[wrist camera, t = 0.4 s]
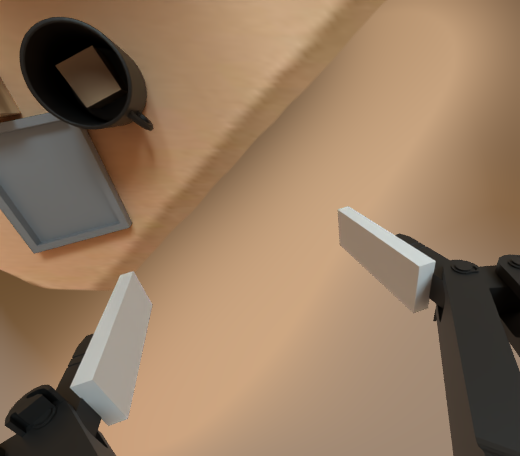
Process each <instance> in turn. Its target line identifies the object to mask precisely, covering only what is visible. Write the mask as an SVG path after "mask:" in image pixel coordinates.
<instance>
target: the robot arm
mask: <svg viewBox="0 0 520 456" xmlns="http://www.w3.org/2000/svg"><path fill="white" fill-rule="evenodd" d="M338 222H339V239H340V245H341V246H342V247H343V248H344V249H345V250H346V251H347V252H348V253H349V254H351V256H353V257H354V258H355V259H356V260H357V261H358V262H359V263H360V264H361V265H362V266H363V267H364V268H365V269H367V270H368V271H369V272H370V273H371V274H372V275H373V276H374V277H375V278H376V279H377V280H378V281H379V282H380V283H382V284H383V285H384V286H385V287H386V288H387V289H388V290H389V291H390V292H391V293H393V295H395V296H396V297H397V298H398V299H399V300H400V301H401V302H402V303H403V304H404V305H405V306H406V307H407V308H408V309H410V310H411V311H412V312H413V313H416V312H418V311H421V310H424V309H426V308H428V304H429V298H430V299H431V300H432V301H434V302H435V303H436V310H435V315H434V320H433V321H436V320H437V325H438V333H439V342H440V350H441V358H442V366H443V374H444V382H445V390H446V398H447V406H448V415H449V423H450V431H451V438H452V446H453V455H454V456H520V371H519V368H518V366H517V363H516V360H515V358H514V355H513V352H512V349H511V347H510V344H511V345H512V346H513V348H514V349H515V351H516V352H517V354H518V355H519V357H520V255H504V256H502V257H500V258H499V260H498V263H497V265H495V266H484V267H478V266H477V265H475V264H473V263H471V262H468V261H463V260H448V259H446V258H445V257H443V256H442V255H440V254H438V253H437V252H435V251H433V250H432V249H430V248H428V247H425V245H423V244H421V243H418V241H416V240H415V239H412V238H411V237H409V236H406V235H402V234H397V235H393V234H392V233H390V232H388V231H387V230H385V229H384V228H382V227H380V226H379V225H377V224H376V223H374V222H373V221H371V220H370V219H368V218H366V217H365V216H363V215H361V214H360V213H358V212H357V211H355V210H354V209H352V208H350V207H344V208H341V209H338ZM151 309H152V303H151V301H150V299H149V297H148V296H147V294H146V292H145V290H144V289H143V287H142V285H141V283H140V282H139V280H138V278H137V276H136V274H135V273H134V271H132V272H129V273H126V274H122V275H120V277H119V279H118V281H117V284H116V286H115V288H114V290H113V293H112V295H111V297H110V299H109V302H108V304H107V306H106V308H105V310H104V313H103V315H102V317H101V319H100V321H99V324H98V326H97V328H96V331H95V333H94V334H91V335H88V336H86V337H85V338H84V339H83V341H82V342H81V343H80V344H79V346H78V347H77V349H76V351H75V353H74V355H73V357H72V358H73V359H71V361H70V363H69V365H68V368H67V369H66V371H65V373H64V375H63V377H62V379H61V381H60V383H59V385H58V387H57V389H56V390H54V389H53V388H52V387H51V386H50V385H42V386H39V387H37V388H35V389H33V390H31V391H30V392H28V393H27V394H25V395H24V396H23V397H22V398H21V399H20V400H19V401H17V403H16V404H15V405H14V406H13V408H12V409H11V410H10V411H9V413H8V415H7V417H6V419H5V426H6V427H8V428H10V429H11V430H12V431H14V432H15V433H16V435H14V436H13V437H11V438H9V439H8V440H6V441H4V442H3V443H1V444H0V456H116V455H115V453H114V452H113V450H112V449H111V447H110V446H109V444H108V443H107V441H106V440H105V438H104V436H103V435H102V433H101V432H99V431H98V427H99V424H100V421H101V419H102V420H103V421H104V422H105V423H106V424H107V425H108V426H109V425H112V424H115V423H117V422H120V421H123V420H126V419H128V415H129V411H130V407H131V402H132V397H133V393H134V388H135V383H136V379H137V374H138V369H139V365H140V360H141V355H142V351H143V346H144V342H145V337H146V333H147V328H148V323H149V319H150V314H151ZM509 342H510V344H509Z"/></svg>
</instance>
